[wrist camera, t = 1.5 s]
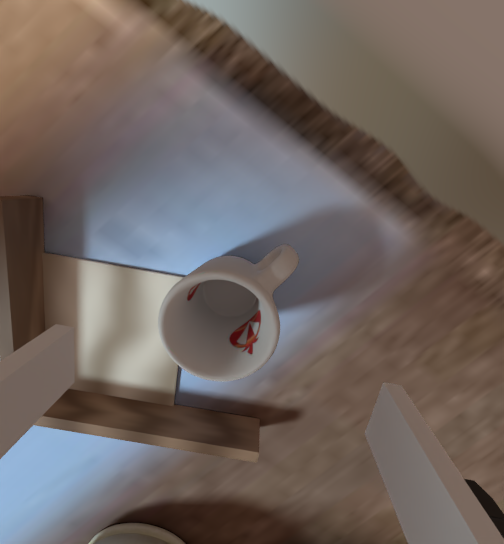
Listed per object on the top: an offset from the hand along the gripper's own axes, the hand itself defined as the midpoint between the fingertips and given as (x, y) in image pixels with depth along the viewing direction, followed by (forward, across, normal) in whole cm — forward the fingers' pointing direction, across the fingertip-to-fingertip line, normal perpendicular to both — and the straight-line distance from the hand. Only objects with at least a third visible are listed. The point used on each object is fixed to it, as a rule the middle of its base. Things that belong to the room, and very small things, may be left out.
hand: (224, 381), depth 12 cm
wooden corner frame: (+14, -7, -6) cm, 17 cm away
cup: (+14, 0, 0) cm, 15 cm away
